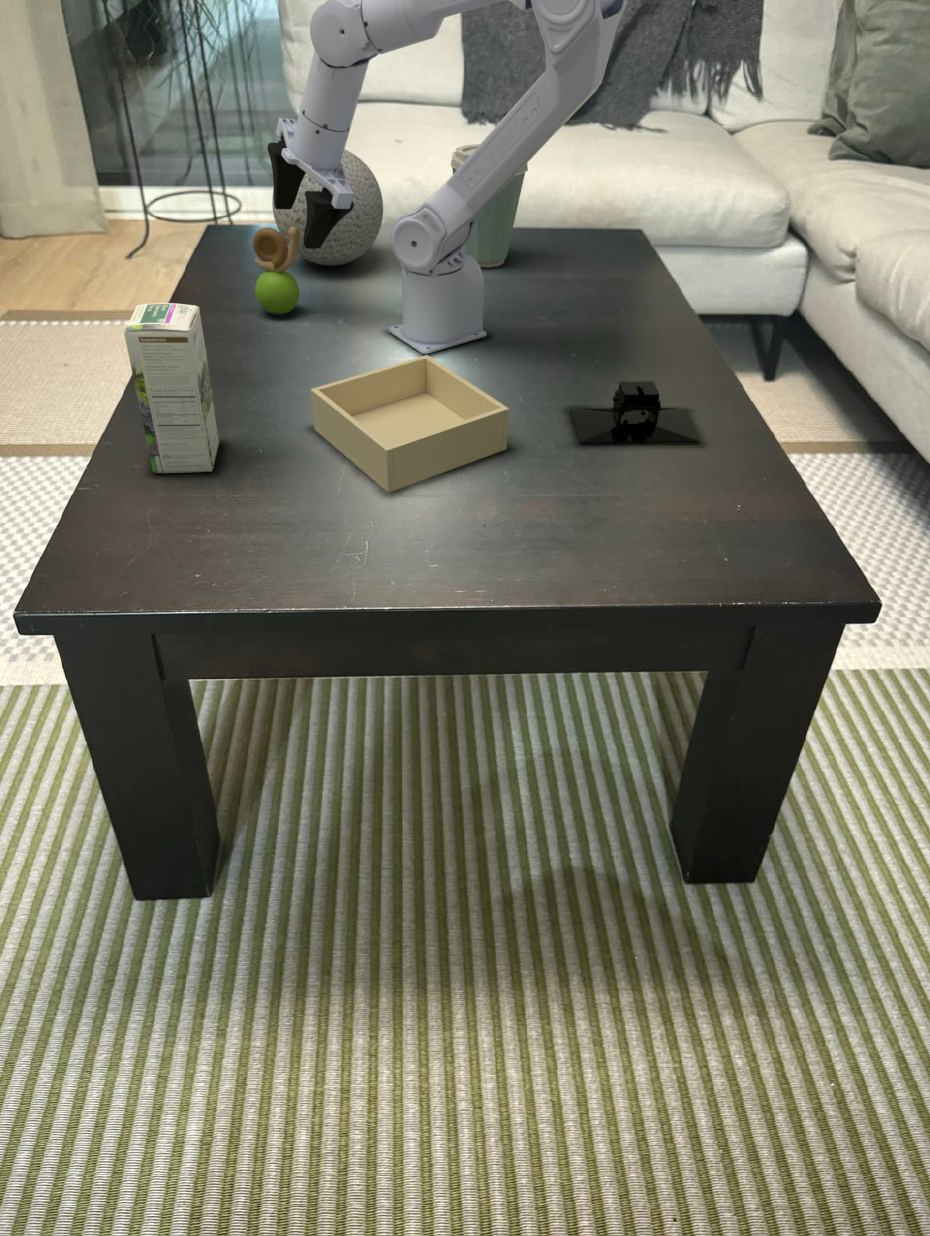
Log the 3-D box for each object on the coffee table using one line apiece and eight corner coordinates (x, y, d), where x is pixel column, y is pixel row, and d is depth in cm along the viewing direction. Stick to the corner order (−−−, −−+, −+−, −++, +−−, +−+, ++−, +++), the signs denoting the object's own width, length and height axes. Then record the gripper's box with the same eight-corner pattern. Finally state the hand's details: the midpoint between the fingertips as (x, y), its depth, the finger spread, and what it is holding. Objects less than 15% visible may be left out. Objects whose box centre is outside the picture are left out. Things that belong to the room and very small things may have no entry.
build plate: (579, 446, 94) (584, 405, 91) (569, 411, 99) (573, 371, 96) (698, 444, 94) (707, 403, 91) (682, 409, 100) (689, 370, 97)
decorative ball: (406, 260, 131) (404, 146, 121) (333, 291, 122) (324, 170, 112) (331, 236, 138) (323, 126, 128) (256, 263, 129) (241, 147, 119)
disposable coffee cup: (440, 249, 135) (441, 137, 125) (510, 245, 137) (517, 135, 127) (457, 276, 127) (460, 159, 117) (531, 271, 129) (540, 156, 119)
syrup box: (162, 443, 92) (131, 302, 82) (222, 442, 92) (198, 301, 83) (153, 474, 87) (119, 329, 78) (215, 473, 88) (190, 328, 78)
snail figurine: (300, 324, 114) (290, 224, 106) (251, 319, 115) (238, 219, 107) (314, 307, 118) (306, 210, 110) (267, 302, 119) (255, 205, 111)
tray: (427, 393, 101) (427, 354, 98) (506, 449, 93) (509, 408, 89) (314, 429, 94) (310, 388, 91) (388, 493, 86) (386, 450, 83)
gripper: (263, 76, 101) (240, 190, 111) (326, 154, 96) (296, 265, 106) (318, 82, 105) (291, 191, 115) (381, 157, 100) (347, 264, 110)
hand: (297, 227), depth 111 cm, fingers open, 7 cm apart
